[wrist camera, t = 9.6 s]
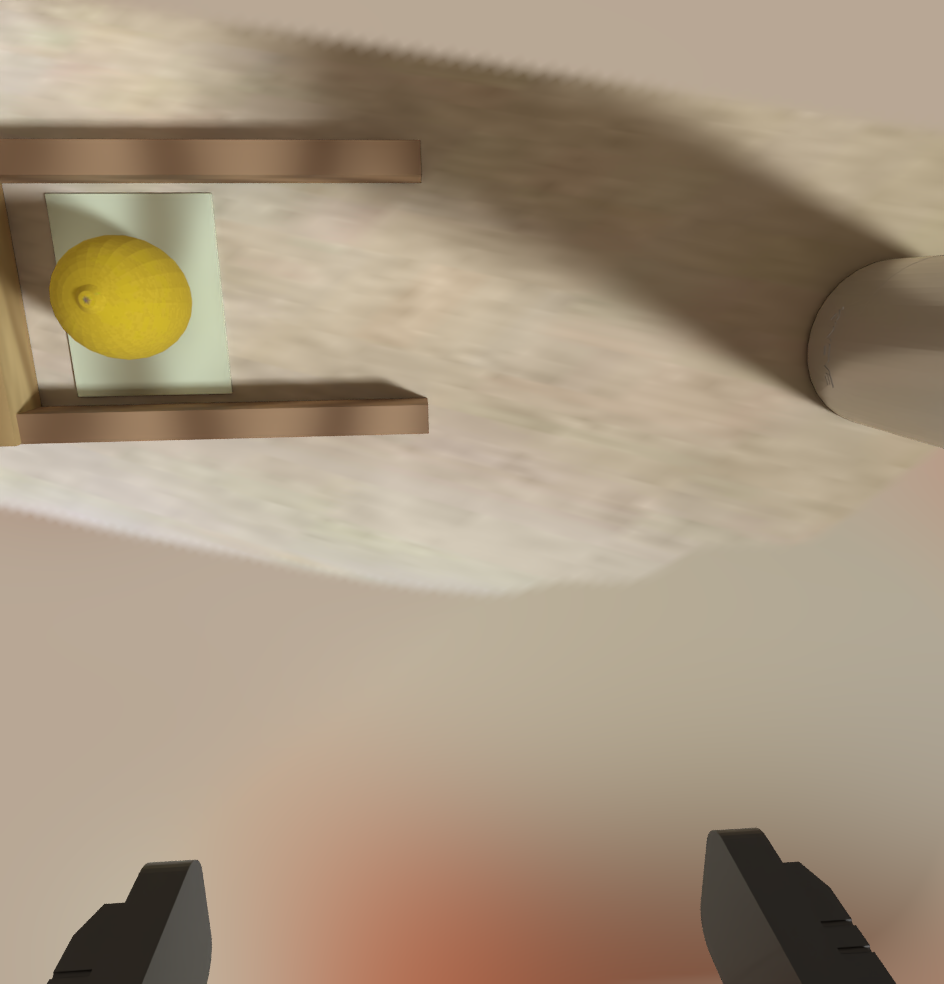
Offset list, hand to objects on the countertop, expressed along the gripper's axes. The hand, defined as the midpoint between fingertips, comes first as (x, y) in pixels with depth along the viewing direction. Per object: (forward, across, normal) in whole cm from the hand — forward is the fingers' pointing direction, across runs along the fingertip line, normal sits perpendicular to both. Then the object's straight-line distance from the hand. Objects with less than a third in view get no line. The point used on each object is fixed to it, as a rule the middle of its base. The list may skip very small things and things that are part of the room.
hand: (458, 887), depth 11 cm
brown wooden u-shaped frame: (+30, +11, -9) cm, 33 cm away
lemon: (+30, +14, -9) cm, 34 cm away
